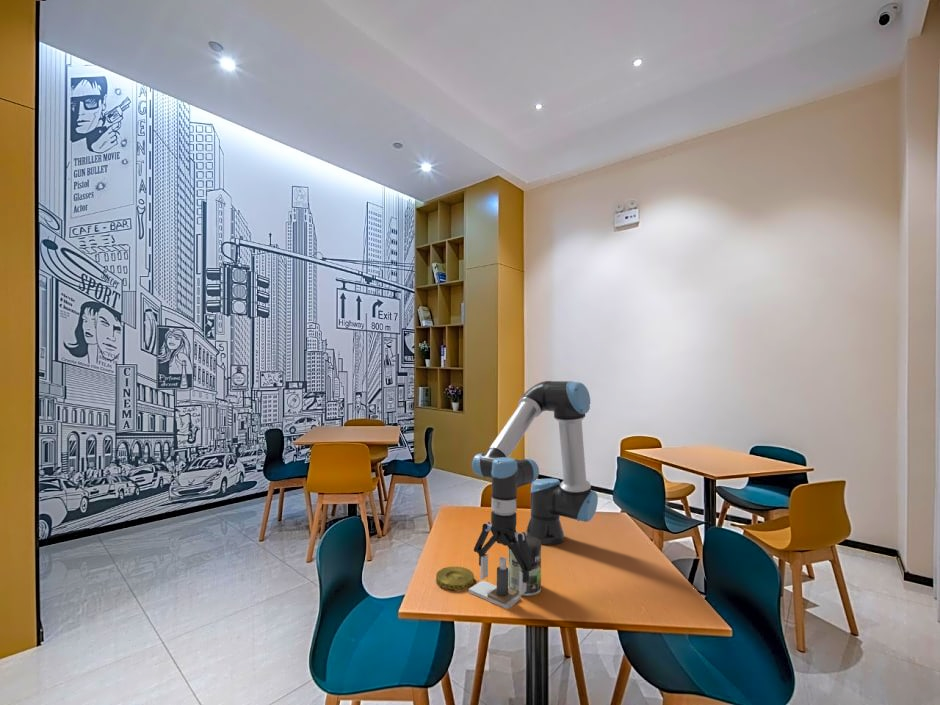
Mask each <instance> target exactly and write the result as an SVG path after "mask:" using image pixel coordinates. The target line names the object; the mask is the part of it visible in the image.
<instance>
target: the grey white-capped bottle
mask: <svg viewBox="0 0 940 705" xmlns="http://www.w3.org/2000/svg"><path fill="white" fill-rule="evenodd" d="M498 559H499V561H498V562H499V565H498V566H497V567H496V586H497V595H498V596H502V597H504V596H507V595H508V571H509V567H507V557H505V556H500V557H499V558H498Z"/></svg>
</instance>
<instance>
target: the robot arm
mask: <svg viewBox="0 0 940 705" xmlns="http://www.w3.org/2000/svg"><path fill="white" fill-rule="evenodd" d="M517 404H518V405H517V408H516V409H515V410H514V412H513V413H512V414H511V416H510V417H509V419H508V420H507V422H506V423H505V424H504V427H502V429H501V430H500V432H499V433H498V434H497V436H496V438H495V439H494V440H493V441H492V443H491V444H490V446H489V448H488V449H487V450H486V452H485V453H483V452H481V453H477V454H475V455H474V457H473V459H472V461H471V468H472V469H471V470H472V472H473V473H474V475H476V476H478V477H482V478H484V479H485V478H486V479H491V501H490V502H491V503H490V504H491V506H490V508H491V512H490V522H489V521H488V522H485V523H483V524H482V529H481V532H480V535H479V537H478V539H477V541H476V543H475V546H474V547H473V551H474V553H477V554H478V564H479V567H480V579H481V581H482V580H483V581H484V579H486V578H487V577H488V576H489V554H487V552H488V551H489V550H490V549H491V547H492V546H493V545H495V544H496V543H497V544H499V545H503V546H505V547H506V546H507V548H508V550H509V549H511V551H512V553H513V554H514V556H515V558H516V560H517V562H518V563H519V565H520V567H521V570H520V571H519V594H520V596H522V594H524V593H525V592H526V583H527V582H528V581H529V571H531V570H533V569H534V568H535V567H536V566H535V563H534V561H533V558H532V555H531V552H530V550H529V547H528V544H527V541H526V535H527V536H532V537H535V538H537V539H539V540H540V541H541V545H548V546H549V545H550V546H551V545H558V544H561V543H562V542H563V541H564V539H565V535H564V530H563V526H562V523H561V520H560V518H561V517H564V518H567V519H573V520H577V522H579V521H580V522H583V523H587V522H590V521H592V520H593V518H594V516H595V515H596V512H597V508H598V501H599V497H598V494H597V492H596V491H595V490H592V486H591V483H590V482H589V480H587V474H586V473H587V472H586V462H585V459H586V458H585V448H584V437H583V433H584V432H583V422H582V421H583V420H584V419H585V417H586V414H587V413H589V411H590V410H591V409H590V407H591V406H590V405H591V395H590V393H589V390H588V388H587V387H586V385H585V384H584V383H582V382H578V381H573V380H571V381H570V380H569V381H565V380H564V381H563V380H560V381H558V380H557V381H556V380H555V381H551V380H545V381H540V382H539V383H536V384H535V385H533V386H532V387H530V388H529V389H528V390H527V391H525V392H524V393H523V395H522V396H521V397H520V398H519V400H518V402H517ZM545 411H548V412H553V417H554V419H555V420H556V421H557V422H558V428H559V430H558V431H559V440H560V441H559V442H560V443H559V444H560V452H561V453H560V454H561V455H560V456H561V465H562V478H563V479H562V481H561V482H560V480H559V479H557V478H540V479H538V478H539V475H540V470H539V469H540V468H539V465H538V464H537V462H536V461H535V460H533V459H531V458H523V459H515V458H513V457H511V455H512V453H513V452H514V450H515V449H516V448H517V446H518V444H519V443H520V441H521V440H522V438H523V437H524V435H525V434H526V432H527V430H528V429H529V428H530V426H531V424H532V423H533V421H534V420H535V418H537V417H539V416H540V415H541V414H542V413H543V412H545ZM530 484H531V486H530V518H529V521H528V525H527V527H526V531H523V532H517V530H516V528H517V508H518V506H517V504H518V503H517V502H518V501H517V499H518V498H517V492H518V490H517V489H518V488H520V487H523V486H526V485H530ZM490 532H491V534H492V536H490V538H489V540H488V541H487V542H486V540H487V537H488V536H489V533H490ZM515 538H517V541H518V542H517V541H516V539H515ZM485 542H486V543H485ZM512 542H513V544H511V543H512ZM518 543H519V546H518ZM519 547H520V548H519ZM520 549H521V550H520Z"/></svg>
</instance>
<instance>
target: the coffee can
mask: <svg viewBox="0 0 940 705" xmlns="http://www.w3.org/2000/svg"><path fill="white" fill-rule="evenodd" d="M515 539H516V541H517V538H515ZM526 541H527V544H528V547H529V550H530V552H531V555H532V558H533V561H534V563H535V566H536V567H535V568H534V569H533V570H531V571H529V581H528V582H527V583H526V592H525V593H524V594H522V595H520V594H519V571H520V570H521V567H520V565H519V563H518V562H517V560H516V558H515V556H514V554H513V553H512V551H511V549H509V548H508V588H510V589H512V590H515V591H517V592H518V595H520V596H521V597H522V596H524V597H531V596H535V595H537V594H539V593H541V591H542V587H541V586H542V583H541V582H542V578H541V576H542V544H541V541H540V540H539V539H537V538H535V537H532V536H527V535H526ZM517 542H518V541H517ZM511 544H513V542H512V543H511ZM518 546H519V543H518ZM519 548H520V547H519ZM520 550H521V549H520Z"/></svg>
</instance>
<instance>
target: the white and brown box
mask: <svg viewBox="0 0 940 705" xmlns="http://www.w3.org/2000/svg"><path fill="white" fill-rule="evenodd" d="M468 593H469V594H472V595H473V596H476V597H477V598H478V597H479V598H481V599H483V600H484V601H487V602H490V603H492V604H493V605H494V604H495V605H497V606H499V607H501V608H504V609H506V610H509V609H510V608H512V606H514V605H515V604H516V603H517V602H519V601H520V600H521V597H522V595H518V592H517V591H515V590H512V589H510V588H508V595H507V596H504V597H502V596H498V595H497V585H495V584H493V583H491V582H487V581H485V580H484V579H483V580H482V579H481V580H480V581H479V582H478V583H475V584H474V585H473V586H470V587H468Z"/></svg>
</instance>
